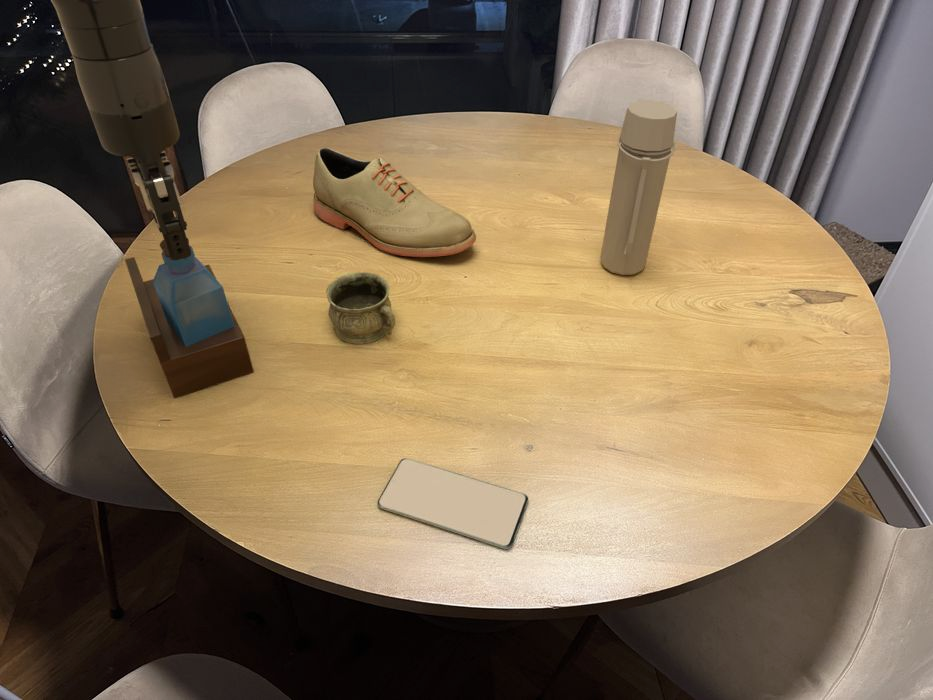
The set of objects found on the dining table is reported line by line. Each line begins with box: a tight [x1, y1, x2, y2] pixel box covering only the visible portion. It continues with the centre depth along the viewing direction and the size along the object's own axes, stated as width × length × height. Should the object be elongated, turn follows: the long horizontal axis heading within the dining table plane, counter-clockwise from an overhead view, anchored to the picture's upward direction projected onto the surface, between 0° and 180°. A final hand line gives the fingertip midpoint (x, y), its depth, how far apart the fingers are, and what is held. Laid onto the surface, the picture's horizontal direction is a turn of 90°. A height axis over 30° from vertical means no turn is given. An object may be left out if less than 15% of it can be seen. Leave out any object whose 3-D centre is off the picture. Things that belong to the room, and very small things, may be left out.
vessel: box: [325, 271, 396, 345], centre depth 93 cm, size 12×9×6 cm
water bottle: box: [599, 99, 678, 276], centre depth 98 cm, size 9×8×25 cm
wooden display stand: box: [124, 256, 254, 399], centre depth 88 cm, size 18×10×10 cm, turn 29°
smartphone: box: [377, 457, 529, 550], centre depth 72 cm, size 7×1×15 cm
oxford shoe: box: [312, 147, 477, 258], centre depth 109 cm, size 11×32×12 cm, turn 61°
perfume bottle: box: [153, 237, 234, 347], centre depth 81 cm, size 6×6×12 cm
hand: (173, 238), depth 77 cm, fingers open, 8 cm apart
